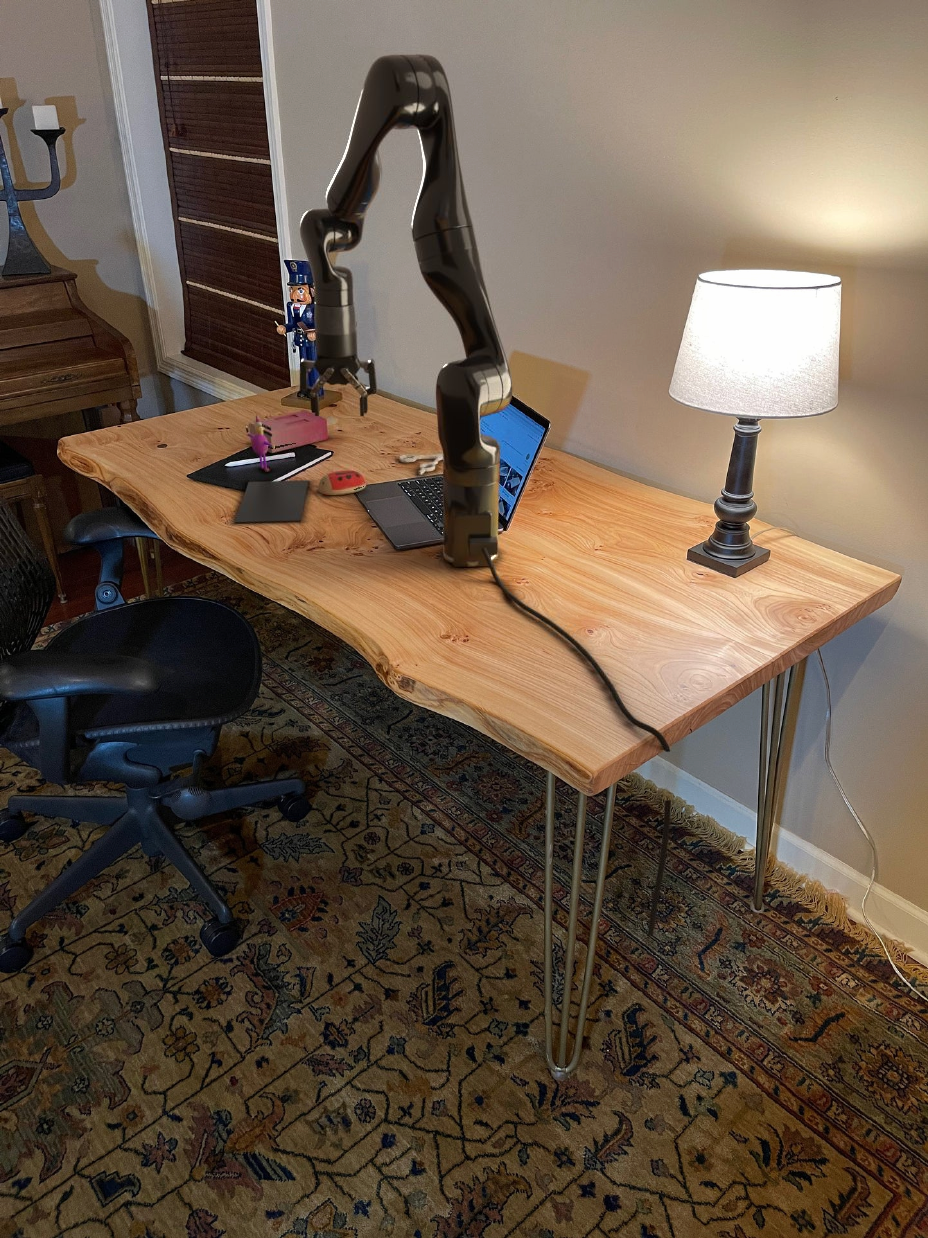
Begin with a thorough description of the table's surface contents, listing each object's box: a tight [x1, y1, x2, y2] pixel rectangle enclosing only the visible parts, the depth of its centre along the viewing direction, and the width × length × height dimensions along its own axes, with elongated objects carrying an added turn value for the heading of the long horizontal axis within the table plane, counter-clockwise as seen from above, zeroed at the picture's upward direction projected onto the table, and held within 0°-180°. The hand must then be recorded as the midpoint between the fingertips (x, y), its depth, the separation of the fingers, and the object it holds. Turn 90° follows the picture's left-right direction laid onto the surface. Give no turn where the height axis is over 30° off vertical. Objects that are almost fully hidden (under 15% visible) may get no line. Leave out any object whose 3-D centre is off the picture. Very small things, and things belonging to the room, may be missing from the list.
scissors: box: [398, 452, 443, 476], centre depth 195 cm, size 11×1×20 cm
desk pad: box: [233, 480, 310, 524], centre depth 174 cm, size 20×12×1 cm, turn 4°
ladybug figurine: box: [317, 470, 368, 496], centre depth 178 cm, size 7×10×4 cm
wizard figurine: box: [245, 413, 275, 473], centre depth 185 cm, size 11×3×12 cm, turn 41°
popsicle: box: [248, 409, 339, 454], centre depth 205 cm, size 9×5×20 cm
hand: (339, 414), depth 172 cm, fingers open, 8 cm apart
